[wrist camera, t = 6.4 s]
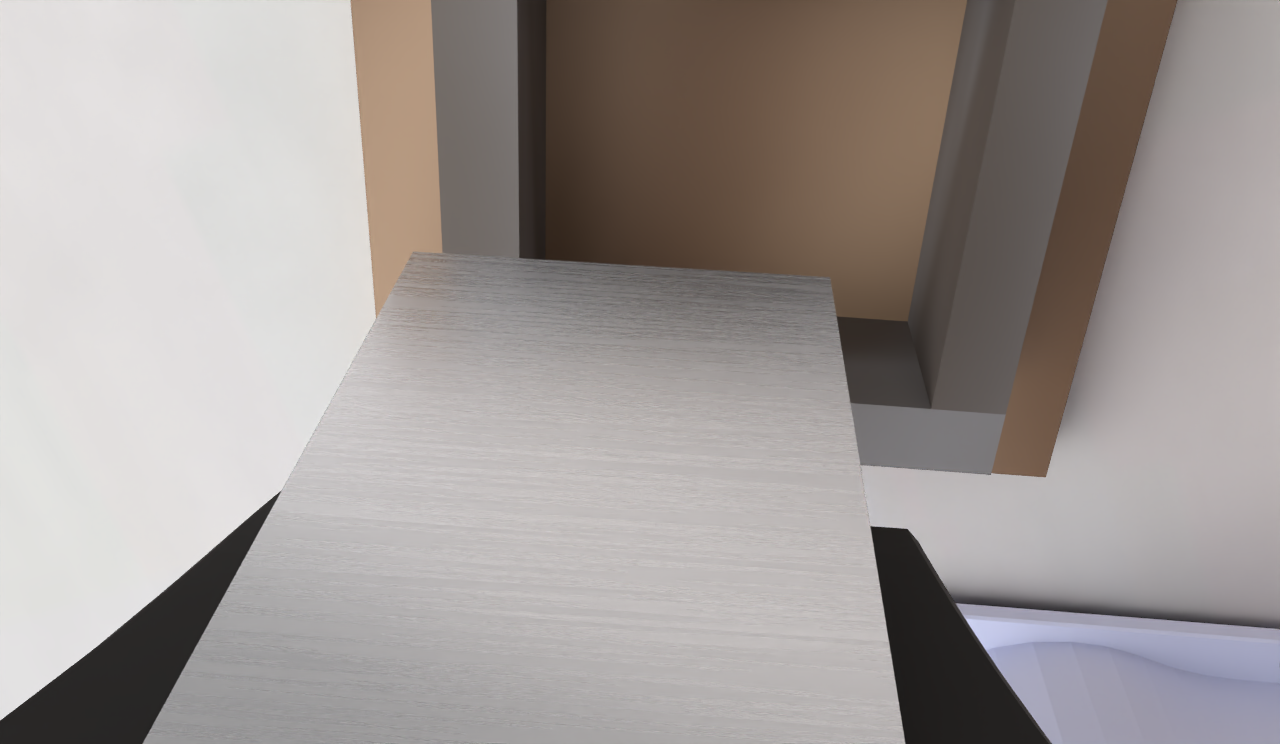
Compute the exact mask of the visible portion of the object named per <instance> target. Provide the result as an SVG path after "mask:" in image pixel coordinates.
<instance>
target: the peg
mask: <svg viewBox="0 0 1280 744" xmlns="http://www.w3.org/2000/svg"><path fill="white" fill-rule="evenodd" d="M143 744H905V738H904V732H903V726H902V720H901V713H900V707H899V701H898V695H897V689H896V682H895V676H894V670H893V664H892V658H891V652H890V645H889V639H888V633H887V627H886V621H885V614H884V608H883V602H882V596H881V590H880V583H879V577H878V571H877V565H876V559H875V552H874V546H873V540H872V534H871V528H870V521H869V515H868V509H867V503H866V497H865V490H864V484H863V478H862V472H861V466H860V459H859V453H858V447H857V441H856V435H855V428H854V422H853V416H852V410H851V404H850V398H849V391H848V385H847V379H846V373H845V367H844V360H843V354H842V348H841V342H840V336H839V329H838V323H837V317H836V311H835V305H834V298H833V292H832V286H831V280H830V277H818V276H801V275H785V274H769V273H753V272H737V271H720V270H704V269H688V268H672V267H656V266H640V265H623V264H607V263H591V262H575V261H559V260H543V259H526V258H510V257H494V256H478V255H462V254H445V253H429V252H413V253H412V255H411V256H410V258H409V260H408V262H407V264H406V265H405V267H404V269H403V271H402V273H401V275H400V276H399V278H398V280H397V282H396V284H395V285H394V287H393V289H392V291H391V293H390V295H389V296H388V298H387V300H386V302H385V304H384V305H383V307H382V309H381V311H380V313H379V315H378V316H377V318H376V320H375V322H374V324H373V325H372V327H371V329H370V331H369V333H368V335H367V336H366V338H365V340H364V342H363V344H362V346H361V347H360V349H359V351H358V353H357V355H356V356H355V358H354V360H353V362H352V364H351V366H350V367H349V369H348V371H347V373H346V375H345V376H344V378H343V380H342V382H341V384H340V386H339V387H338V389H337V391H336V393H335V395H334V396H333V398H332V400H331V402H330V404H329V406H328V407H327V409H326V411H325V413H324V415H323V416H322V418H321V420H320V422H319V424H318V426H317V427H316V429H315V431H314V433H313V435H312V436H311V438H310V440H309V442H308V444H307V446H306V447H305V449H304V451H303V453H302V455H301V456H300V458H299V460H298V462H297V464H296V466H295V467H294V469H293V471H292V473H291V475H290V477H289V478H288V480H287V482H286V484H285V486H284V487H283V489H282V491H281V493H280V495H279V497H278V498H277V500H276V502H275V504H274V506H273V507H272V509H271V511H270V513H269V515H268V517H267V518H266V520H265V522H264V524H263V526H262V527H261V529H260V531H259V533H258V535H257V537H256V538H255V540H254V542H253V544H252V546H251V547H250V549H249V551H248V553H247V555H246V557H245V558H244V560H243V562H242V564H241V566H240V567H239V569H238V571H237V573H236V575H235V577H234V578H233V580H232V582H231V584H230V586H229V587H228V589H227V591H226V593H225V595H224V597H223V598H222V600H221V602H220V604H219V606H218V607H217V609H216V611H215V613H214V615H213V617H212V618H211V620H210V622H209V624H208V626H207V628H206V629H205V631H204V633H203V635H202V637H201V638H200V640H199V642H198V644H197V646H196V648H195V649H194V651H193V653H192V655H191V657H190V658H189V660H188V662H187V664H186V666H185V668H184V669H183V671H182V673H181V675H180V677H179V678H178V680H177V682H176V684H175V686H174V688H173V689H172V691H171V693H170V695H169V697H168V698H167V700H166V702H165V704H164V706H163V708H162V709H161V711H160V713H159V715H158V717H157V718H156V720H155V722H154V724H153V726H152V728H151V729H150V731H149V733H148V735H147V737H146V738H145V740H144V742H143Z"/></svg>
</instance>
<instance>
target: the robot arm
mask: <svg viewBox="0 0 1280 744" xmlns="http://www.w3.org/2000/svg"><path fill="white" fill-rule="evenodd" d="M281 491H282V490H281ZM281 491H280V492H279V493H278V494H277V495H275V496H274V497H273V498H272V499H271V500H269V501H268V502H267V503H266V504H265V505H263V506H262V507H261V508H260V509H259V510H258V511H256V512H255V513H254V514H253V515H252V516H250V517H249V518H248V519H247V520H246V521H245V522H243V523H242V524H241V525H240V526H239V527H238V528H237V529H235V530H234V531H233V532H232V533H231V534H230V535H228V536H227V537H226V538H225V539H224V540H223V541H222V542H220V543H219V544H218V545H217V546H216V547H215V548H213V549H212V550H211V551H210V552H209V553H208V554H207V555H205V556H204V557H203V558H202V559H201V560H200V561H198V562H197V563H196V564H195V565H194V566H193V567H191V568H190V569H189V570H188V571H187V572H186V573H185V574H183V575H182V576H181V577H180V578H179V579H178V580H176V581H175V582H174V583H173V584H172V585H171V586H169V587H168V588H167V589H166V590H165V591H164V592H162V593H161V594H160V595H159V596H157V597H156V598H155V599H154V600H153V601H151V602H150V603H149V604H148V605H147V606H145V607H144V608H143V609H142V610H141V611H139V612H138V613H137V614H136V615H135V616H133V617H132V618H131V619H130V620H129V621H127V622H126V623H125V624H124V625H123V626H121V627H120V628H119V629H118V630H117V631H115V632H114V633H113V634H112V635H110V636H109V637H108V638H107V639H106V640H104V641H103V642H102V643H101V644H100V645H98V646H97V647H96V648H95V649H93V650H92V651H91V652H90V653H88V654H87V655H86V656H84V657H83V658H82V659H80V660H79V661H78V662H77V663H75V664H74V665H73V666H71V667H70V668H69V669H67V670H66V671H65V672H63V673H62V674H61V675H60V676H58V677H57V678H56V679H54V680H53V681H52V682H50V683H49V684H48V685H46V686H45V687H44V688H42V689H41V690H40V691H39V692H37V693H36V694H35V695H33V696H32V697H31V698H29V699H28V700H27V701H25V702H24V703H23V704H21V705H20V706H19V707H18V708H16V709H15V710H14V711H12V712H11V713H10V714H8V715H7V716H6V717H4V718H3V719H2V720H1V721H0V744H143V742H144V740H145V738H146V737H147V735H148V733H149V731H150V729H151V728H152V726H153V724H154V722H155V720H156V718H157V717H158V715H159V713H160V711H161V709H162V708H163V706H164V704H165V702H166V700H167V698H168V697H169V695H170V693H171V691H172V689H173V688H174V686H175V684H176V682H177V680H178V678H179V677H180V675H181V673H182V671H183V669H184V668H185V666H186V664H187V662H188V660H189V658H190V657H191V655H192V653H193V651H194V649H195V648H196V646H197V644H198V642H199V640H200V638H201V637H202V635H203V633H204V631H205V629H206V628H207V626H208V624H209V622H210V620H211V618H212V617H213V615H214V613H215V611H216V609H217V607H218V606H219V604H220V602H221V600H222V598H223V597H224V595H225V593H226V591H227V589H228V587H229V586H230V584H231V582H232V580H233V578H234V577H235V575H236V573H237V571H238V569H239V567H240V566H241V564H242V562H243V560H244V558H245V557H246V555H247V553H248V551H249V549H250V547H251V546H252V544H253V542H254V540H255V538H256V537H257V535H258V533H259V531H260V529H261V527H262V526H263V524H264V522H265V520H266V518H267V517H268V515H269V513H270V511H271V509H272V507H273V506H274V504H275V502H276V500H277V498H278V497H279V495H280V493H281ZM870 528H871V534H872V540H873V546H874V552H875V559H876V565H877V571H878V577H879V583H880V590H881V596H882V602H883V608H884V614H885V621H886V627H887V633H888V639H889V645H890V652H891V658H892V664H893V670H894V676H895V682H896V689H897V695H898V701H899V707H900V713H901V720H902V726H903V732H904V738H905V744H1280V629H1272V628H1259V627H1247V626H1234V625H1222V624H1209V623H1197V622H1184V621H1172V620H1159V619H1147V618H1134V617H1122V616H1109V615H1097V614H1084V613H1072V612H1059V611H1047V610H1034V609H1022V608H1009V607H997V606H984V605H972V604H959V603H955V602H954V600H953V599H952V597H951V595H950V594H949V592H948V591H947V589H946V587H945V586H944V584H943V583H942V581H941V579H940V578H939V576H938V574H937V573H936V571H935V569H934V568H933V566H932V564H931V563H930V561H929V559H928V558H927V556H926V554H925V552H924V551H923V549H922V547H921V546H920V544H919V542H918V541H917V540H916V538H915V537H914V536H913V535H912V534H911V533H910V532H909V530H908V529H900V528H886V527H872V526H870Z"/></svg>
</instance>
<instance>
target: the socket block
mask: <svg viewBox="0 0 1280 744" xmlns="http://www.w3.org/2000/svg"><path fill="white" fill-rule="evenodd" d="M1176 3H1177V0H351V12H352V24H353V36H354V49H355V61H356V74H357V86H358V99H359V111H360V124H361V136H362V148H363V161H364V173H365V186H366V198H367V211H368V223H369V236H370V248H371V260H372V273H373V285H374V298H375V310H376V318H377V316H378V315H379V313H380V311H381V309H382V307H383V305H384V304H385V302H386V300H387V298H388V296H389V295H390V293H391V291H392V289H393V287H394V285H395V284H396V282H397V280H398V278H399V276H400V275H401V273H402V271H403V269H404V267H405V265H406V264H407V262H408V260H409V258H410V256H411V255H412V253H413V252H429V253H445V254H462V255H478V256H494V257H510V258H526V259H543V260H559V261H575V262H591V263H607V264H623V265H640V266H656V267H672V268H688V269H704V270H720V271H737V272H753V273H769V274H785V275H801V276H818V277H830V280H831V286H832V292H833V298H834V305H835V311H836V317H837V323H838V329H839V336H840V342H841V348H842V354H843V360H844V367H845V373H846V379H847V385H848V391H849V398H850V404H851V410H852V416H853V422H854V428H855V435H856V441H857V447H858V453H859V459H860V465H870V466H883V467H896V468H909V469H922V470H935V471H949V472H962V473H975V474H988V475H991V473H996V474H1009V475H1022V476H1035V477H1046V474H1047V471H1048V467H1049V464H1050V460H1051V456H1052V453H1053V449H1054V445H1055V442H1056V438H1057V435H1058V431H1059V427H1060V424H1061V420H1062V416H1063V413H1064V409H1065V406H1066V402H1067V398H1068V395H1069V391H1070V387H1071V384H1072V380H1073V377H1074V373H1075V369H1076V366H1077V362H1078V358H1079V355H1080V351H1081V348H1082V344H1083V340H1084V337H1085V333H1086V329H1087V326H1088V322H1089V319H1090V315H1091V311H1092V308H1093V304H1094V300H1095V297H1096V293H1097V290H1098V286H1099V282H1100V279H1101V275H1102V271H1103V268H1104V264H1105V261H1106V257H1107V253H1108V250H1109V246H1110V242H1111V239H1112V235H1113V232H1114V228H1115V224H1116V221H1117V217H1118V213H1119V210H1120V206H1121V203H1122V199H1123V195H1124V192H1125V188H1126V184H1127V181H1128V177H1129V174H1130V170H1131V166H1132V163H1133V159H1134V155H1135V152H1136V148H1137V145H1138V141H1139V137H1140V134H1141V130H1142V126H1143V123H1144V119H1145V116H1146V112H1147V108H1148V105H1149V101H1150V97H1151V94H1152V90H1153V87H1154V83H1155V79H1156V76H1157V72H1158V68H1159V65H1160V61H1161V58H1162V54H1163V50H1164V47H1165V43H1166V39H1167V36H1168V32H1169V29H1170V25H1171V21H1172V18H1173V14H1174V10H1175V7H1176Z"/></svg>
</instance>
